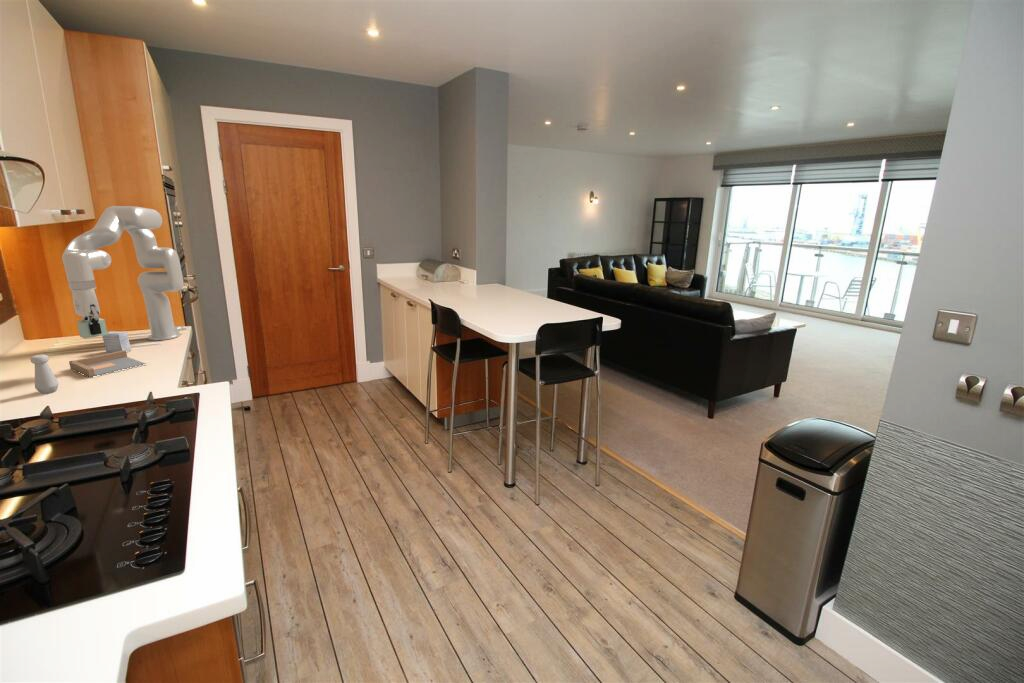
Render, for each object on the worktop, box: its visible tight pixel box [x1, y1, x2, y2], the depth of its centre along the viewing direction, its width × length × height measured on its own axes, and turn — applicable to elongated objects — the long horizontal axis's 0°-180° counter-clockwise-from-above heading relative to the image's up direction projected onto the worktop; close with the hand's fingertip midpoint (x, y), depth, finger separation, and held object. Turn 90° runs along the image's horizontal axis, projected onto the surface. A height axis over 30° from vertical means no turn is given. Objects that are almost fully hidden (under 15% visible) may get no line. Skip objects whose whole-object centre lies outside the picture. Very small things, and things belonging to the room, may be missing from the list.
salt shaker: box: [30, 353, 59, 395], centre depth 163 cm, size 6×6×13 cm
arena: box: [68, 350, 147, 378], centre depth 190 cm, size 18×18×3 cm
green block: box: [76, 317, 108, 340], centre depth 185 cm, size 4×7×6 cm, turn 148°
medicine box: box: [101, 330, 132, 354], centre depth 209 cm, size 8×4×9 cm, turn 84°
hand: (93, 332), depth 185 cm, fingers closed on green block, 4 cm apart
